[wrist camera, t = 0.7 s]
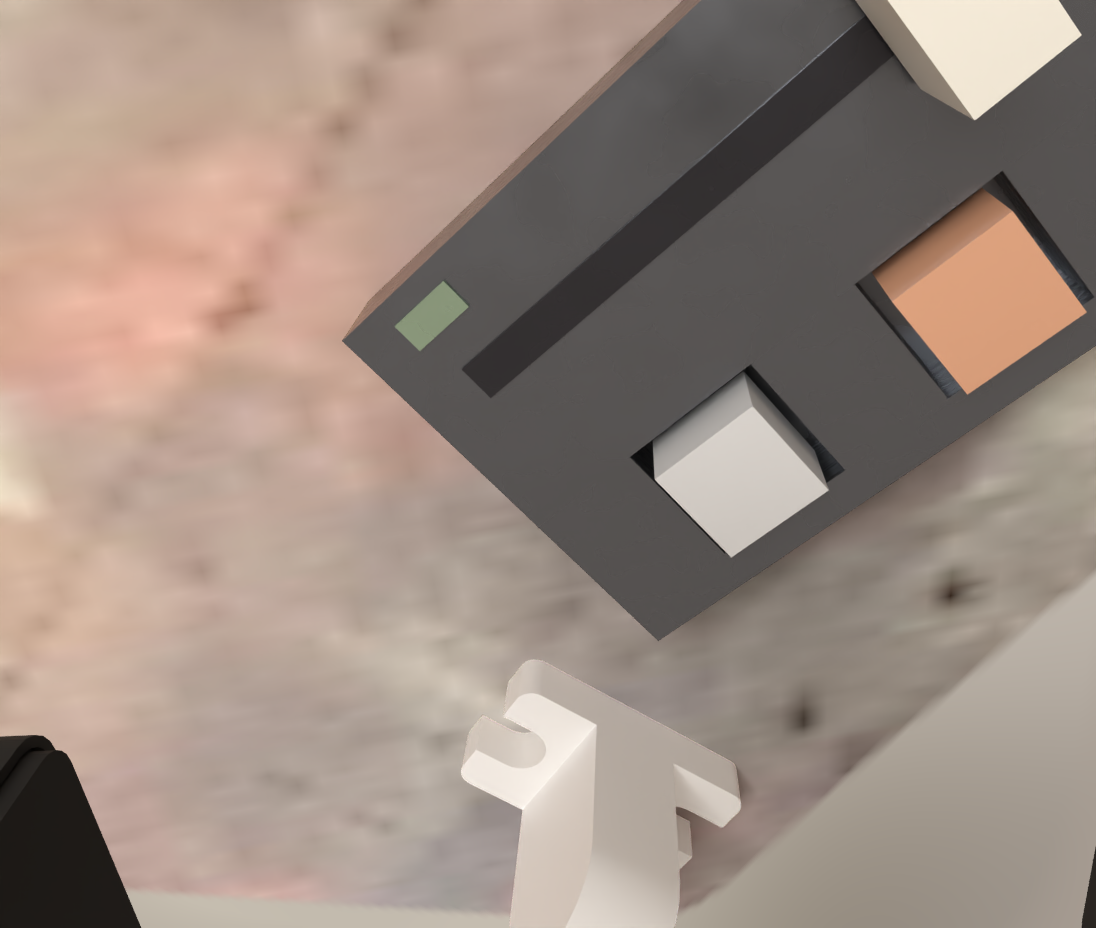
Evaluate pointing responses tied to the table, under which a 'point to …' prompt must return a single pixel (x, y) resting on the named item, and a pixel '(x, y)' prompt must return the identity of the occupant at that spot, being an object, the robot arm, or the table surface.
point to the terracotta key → (978, 290)
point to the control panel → (727, 279)
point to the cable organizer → (595, 802)
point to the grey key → (737, 465)
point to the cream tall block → (972, 44)
